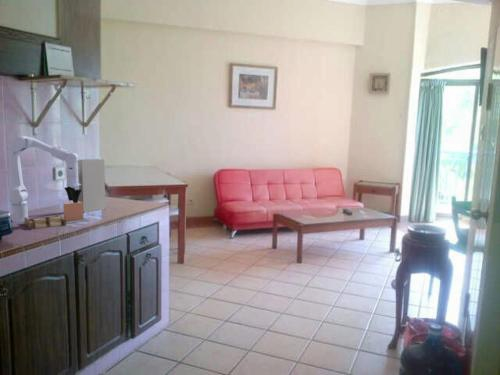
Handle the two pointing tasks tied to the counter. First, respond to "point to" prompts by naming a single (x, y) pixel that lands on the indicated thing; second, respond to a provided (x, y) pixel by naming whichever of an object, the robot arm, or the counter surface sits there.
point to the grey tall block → (91, 184)
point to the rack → (31, 222)
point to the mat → (77, 220)
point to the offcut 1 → (39, 223)
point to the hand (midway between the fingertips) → (73, 201)
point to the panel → (73, 211)
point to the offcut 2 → (54, 221)
